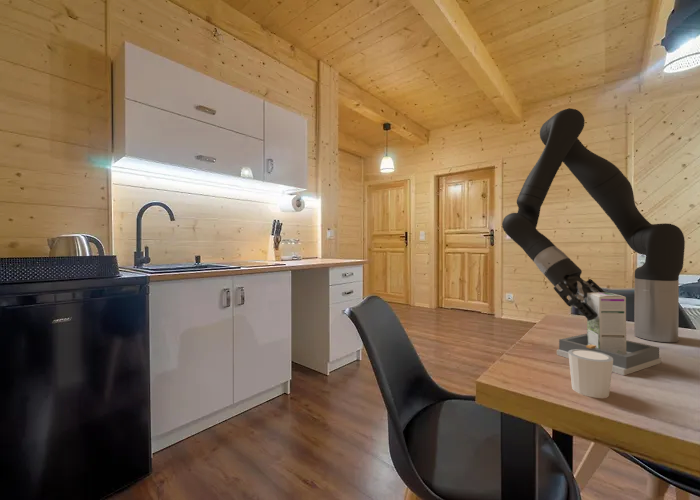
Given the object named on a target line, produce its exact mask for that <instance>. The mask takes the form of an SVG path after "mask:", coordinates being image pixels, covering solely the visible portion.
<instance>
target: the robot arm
mask: <svg viewBox="0 0 700 500" xmlns="http://www.w3.org/2000/svg"><path fill="white" fill-rule="evenodd" d="M585 123H586V122H585V117H584V114H583V113H582V112H581V111H579V110H578V109H575V108H564V109H562V110H560V111H558V112H557V113H555V114H554V115H552V116H551V117H550V118H549V119H547V120H546V121H545V122H544V123H543V124H542V126H541V127H540V130H539V138H540V141H542V143H543V144H544V145H545V146H544V149H543V151H542V152H541V154H540V157H539V158H538V160H537V161H536V163H535V164H534V165H533V168H532V169H531V170H530V171H529V173H528V175H527V177H526V178H525V181H524V183H523V185H522V187H521V189H520V191H519V194H518V196H517V199H516V205H517V207H518V210H517V212H511V213H508V214H506V215H505V217H504V218H503V219H502V223H501V224H502V225H501V227H502V229H503V231H504V233H505V235H507V236H508V237H509V238H510V239H511V240H513V242H514V243H515V244H516V245H518V246H519V247H520V248H521V249H522V250H523V252H525V254H526V255H527V256H528V258H530V260H532V262H533V263H534V264H535V266H536V267H537V269H539V271H540V272H541V273H542V274H543V276H545V278H546V279H547V280H548V281H549V283H551V284H552V286H554V287H553V290H554V291H555V292H556V294H558V295H559V297H560V298H561V300H563V301H564V303H565V304H566V305H567V306H568V307H574V308H575V309H578V310H579V312H581V314H583V316H585V318H586V320H587V319H588V320H593V319H594V318H596V317H597V313H596V312H595V311H594V310H593V309H592V308H591V307H590V306H589V305H588V304H587V302H586V301H587V293H593V292H605V291H604V289H602V288H601V287H600V286H599V285H598V284H597V283H596V282H595V281H594V280H593V279H591V278H589V279H587V280H584V279H583V278H581V275H582V269H581V268H580V267H579V266H578V265H577V264H576V263H575V262H574V261H573V260H572V259H571V258H570V257H569V256H568V255H566V253H565V252H564V251H562V250H561V249H560V248H559V247H557V246H556V245H555V244H554V243H553V242H552V241H551V240H550V239H549V237H547V236H546V235H544V234H543V233H541V232H540V231H539V230H538V229H537V227H538V222H539V218H540V214H541V208H542V205H544V204H543V203H544V202H545V198H546V197H547V195H548V192H549V190H550V188H551V186H552V184H553V182H554V178H555V177H556V175H557V173H558V171H559V169H560V168H561V165H562V164H564V165H565V166H566V167H567V169H569V171H570V172H571V173H572V174H573V176H574V177H575V178H576V179H577V180H578V182H579V183H580V184H581V186H582V187H583V188H584V190H585V191H586V192H587V193H588V194H589V196H590V197H592V199H593V200H594V201H595V202H596V203H597V204H598V205H599V207H600V208H601V209H602V210H603V212H604V213H605V214H606V215H607V217H609V218H610V220H611V222H613V224H614V225H615V226H616V228H617V229H618V231H619V233H620V235H621V236H622V237H623V239H624V240H625V242H626V244H627V246H629V248H631V250H632V251H634V252H635V253H637V254H639V255H643V256H645V261H644V263H643V264H642V265H641V266H639V267H637V268H636V269H634V303H633V305H634V312H633V313H634V314H633V315H634V317H633V318H634V320H633V322H634V327H633V328H634V333H633V334H634V337H637V338H640V339H644V340H648V341H652V342H653V341H654V342H658V343H659V342H660V343H661V342H662V343H677V342H679V312H680V311H679V308H680V307H679V306H680V305H679V304H680V303H679V300H680V299H679V295H680V293H679V291H680V290H679V285H680V284H679V282H680V281H679V280H680V274H681V273H682V271H683V267H684V260H685V258H684V257H685V247H686V246H685V245H686V243H685V241H686V240H685V235H684V233H683V231H682V230H681V228H680V227H678V226H677V225H675V224H673V223H651V222H649V221H648V219H646V218H645V216H643V214H642V213H641V212H640V211H639V209H638V207H637V205H636V203H635V195H634V194H635V193H634V189H633V186H632V184H631V182H630V180H629V179H628V178H627V177H626V175H625V174H624V173H623V172H622V171H621V170H620V168H619V167H618V166H616V165H615V164H614V163H613V162H611V161H609V160H607V159H606V158H605V157H602V156H599V154H596V153H594V152H592V151H591V150H590V149H588V148H587V147H586V146H585V145H584V144H583V143H582V141H580V139H579V136H580V135H581V133H582V132H583V130H584V127H585ZM585 300H586V301H585Z"/></svg>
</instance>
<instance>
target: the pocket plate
mask: <svg viewBox="0 0 700 500" xmlns="http://www.w3.org/2000/svg"><path fill="white" fill-rule="evenodd" d="M558 342H559V343H558V345H559V346H558V347H559V348H558V349H556V355H557V356H560V357H563V358H567V359H569V355H568V351H569V350H573V349H583V350H591V351H596V352H600V353H604V354H606V355H609V356H611V357H612V358H613V367H612V373H615V374H618V375H621V376H626V375H630V374H632V373H635V372H638V371H641V370H644V369H647V368H650V367H652V366H657V365H659V364H662V357H660V347H658V346H653V345H649V344H645V343H640V342H636V341H631V340H627V339H626V354H625V355H621V354H617V353H613V352H610V351H606V350H602V349H598V348H595V347H596V345H592V344H591V345H587V333H584V334H579V335H573V336H569V337H565V338H560V339H558Z"/></svg>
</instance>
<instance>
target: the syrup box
mask: <svg viewBox="0 0 700 500" xmlns="http://www.w3.org/2000/svg"><path fill="white" fill-rule="evenodd" d="M586 303H587V304H588V305H589V306H590V307H591V308H592V309H593V310H594V311H595V312H596V313H597V317H596V318H594V319H593V320H588V319H587V318H586V321H587V322H586V323H587V324H586V327H587V328H586V331H587V333H586V334H587V345H591V344H592V345H596V347H595V348H598V349H602V350H606V351H610V352H613V353H617V354H621V355H625V354H626V340H627V297H626V296H623V295H620V294H616V293H612V292H606V291H604V292H599V291H598V292H593V293H587V300H586Z"/></svg>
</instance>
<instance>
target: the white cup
mask: <svg viewBox="0 0 700 500" xmlns="http://www.w3.org/2000/svg"><path fill="white" fill-rule="evenodd" d="M568 355H569V358H568V362H569V363H568V364H569V373H570V380H571V381H570V382H571V389H572V390H573V391H574V392H576V393H578V394H579V395H582V396H585V397H588V398H593V399H606V398H608V397H609V396H610V392H611V391H610V390H611V389H610V388H611V382H612V373H613V372H612V367H613V358H612V357H611V356H609V355H606V354H604V353H600V352H596V351H591V350H583V349H573V350H569V351H568Z"/></svg>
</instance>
